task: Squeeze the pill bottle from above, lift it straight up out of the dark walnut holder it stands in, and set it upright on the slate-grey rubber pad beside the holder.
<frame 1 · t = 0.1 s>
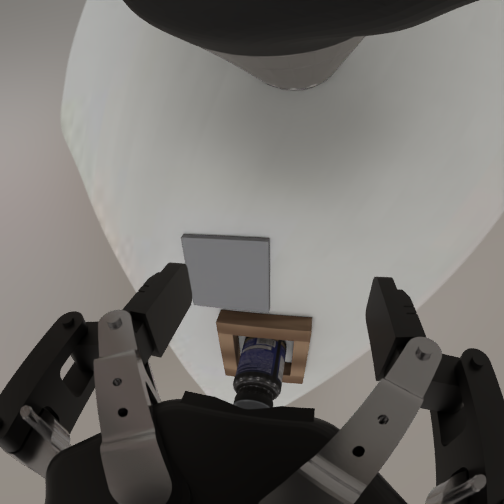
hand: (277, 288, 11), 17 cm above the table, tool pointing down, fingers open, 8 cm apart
walnut holder: (265, 344, 38), on the table
grey pad: (228, 273, 33), on the table
pill bottle: (266, 342, 39), resting in walnut holder
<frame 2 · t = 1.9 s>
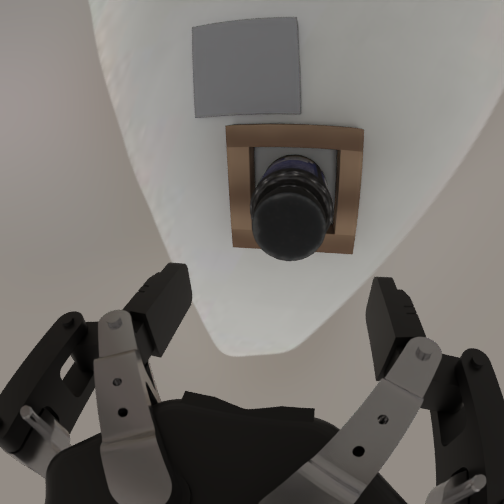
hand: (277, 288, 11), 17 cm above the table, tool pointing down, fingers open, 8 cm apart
walnut holder: (295, 184, 26), on the table
grey pad: (245, 65, 21), on the table
pill bottle: (295, 183, 27), resting in walnut holder
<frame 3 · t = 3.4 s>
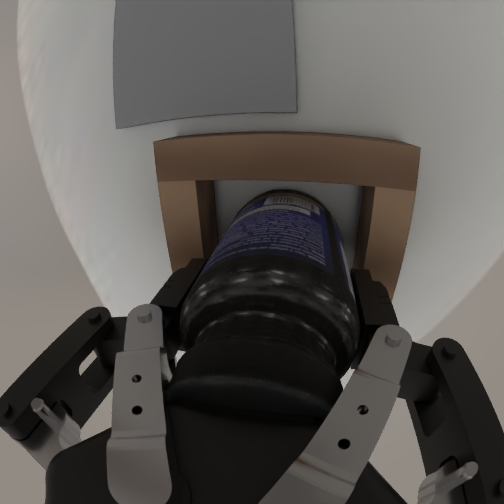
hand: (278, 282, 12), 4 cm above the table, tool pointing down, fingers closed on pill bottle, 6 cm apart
walnut holder: (286, 240, 15), on the table
grey pad: (197, 32, 11), on the table
pill bottle: (286, 238, 16), resting in walnut holder, touching gripper
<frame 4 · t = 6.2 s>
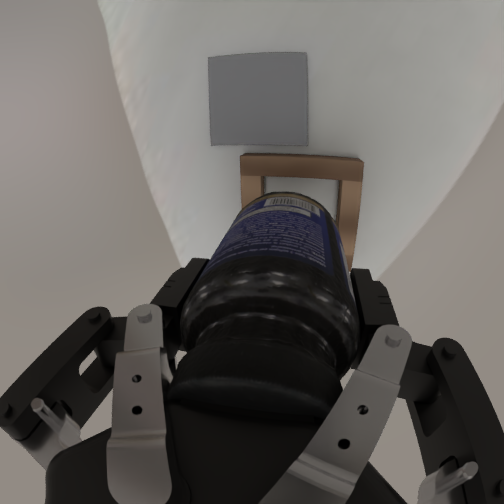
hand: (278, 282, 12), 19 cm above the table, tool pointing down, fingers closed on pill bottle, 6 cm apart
walnut holder: (300, 208, 30), on the table
grey pad: (258, 98, 25), on the table
pill bottle: (286, 239, 16), point 15 cm above the table, touching gripper
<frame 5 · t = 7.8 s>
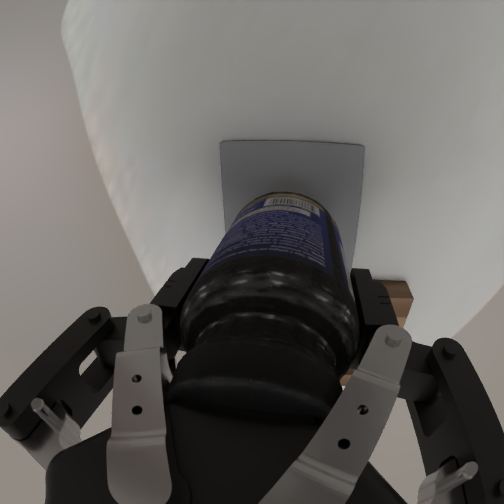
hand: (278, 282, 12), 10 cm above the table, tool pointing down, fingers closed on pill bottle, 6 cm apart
walnut holder: (332, 329, 25), on the table
grey pad: (291, 207, 20), on the table
pill bottle: (286, 239, 16), point 5 cm above the table, touching gripper
when the fingers open (6 cm above the table, at t = 9.1 s): pill bottle drops 1 cm, resting on grey pad.
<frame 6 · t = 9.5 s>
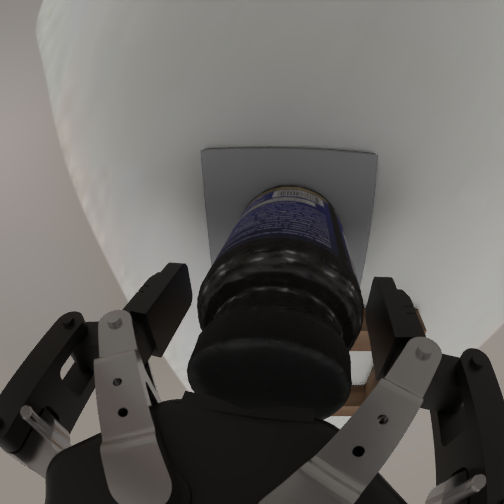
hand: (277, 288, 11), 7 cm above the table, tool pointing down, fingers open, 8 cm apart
walnut holder: (333, 359, 22), on the table
grey pad: (288, 227, 17), on the table
pill bottle: (291, 230, 17), point 1 cm above the table, touching grey pad
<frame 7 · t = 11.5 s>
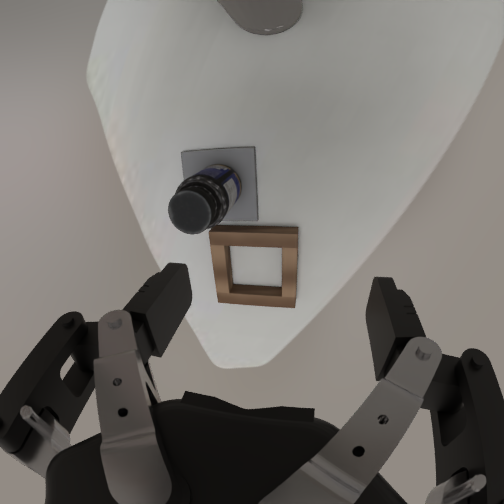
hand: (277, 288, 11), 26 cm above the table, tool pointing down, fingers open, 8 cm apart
walnut holder: (256, 263, 41), on the table
grey pad: (220, 184, 37), on the table
pill bottle: (220, 185, 36), point 1 cm above the table, touching grey pad
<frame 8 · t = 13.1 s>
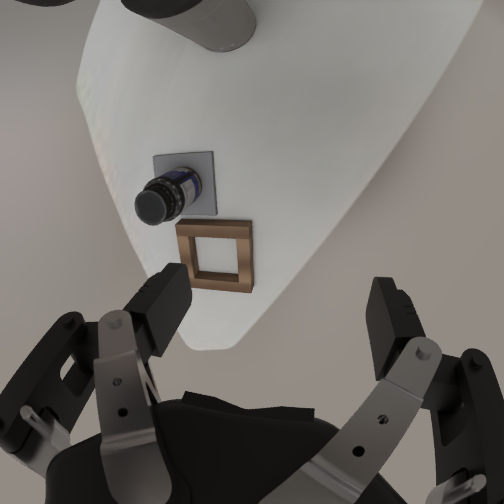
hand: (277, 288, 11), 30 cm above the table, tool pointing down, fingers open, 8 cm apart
walnut holder: (218, 252, 47), on the table
grey pad: (185, 184, 42), on the table
pill bottle: (185, 184, 41), point 1 cm above the table, touching grey pad
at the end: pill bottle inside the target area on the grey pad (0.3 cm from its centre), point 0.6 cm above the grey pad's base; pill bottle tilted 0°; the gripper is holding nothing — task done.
